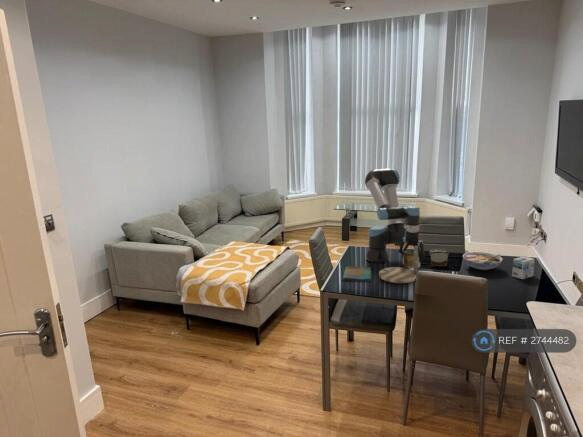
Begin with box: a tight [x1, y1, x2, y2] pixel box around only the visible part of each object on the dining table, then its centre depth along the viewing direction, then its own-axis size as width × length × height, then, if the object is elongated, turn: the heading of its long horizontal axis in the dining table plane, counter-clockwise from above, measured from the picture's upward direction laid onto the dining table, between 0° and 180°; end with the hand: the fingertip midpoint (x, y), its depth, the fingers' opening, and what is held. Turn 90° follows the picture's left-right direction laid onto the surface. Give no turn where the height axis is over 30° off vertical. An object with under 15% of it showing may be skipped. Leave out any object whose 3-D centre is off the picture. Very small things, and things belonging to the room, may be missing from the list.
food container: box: [428, 248, 450, 267], centre depth 260 cm, size 12×6×10 cm, turn 84°
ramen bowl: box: [462, 251, 503, 271], centre depth 249 cm, size 25×23×8 cm
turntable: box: [378, 245, 419, 284], centre depth 236 cm, size 22×22×19 cm
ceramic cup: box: [402, 248, 419, 269], centre depth 252 cm, size 13×10×10 cm
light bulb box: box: [511, 255, 536, 280], centre depth 234 cm, size 11×7×11 cm, turn 118°
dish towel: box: [342, 266, 372, 283], centre depth 248 cm, size 17×23×2 cm
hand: (411, 265), depth 252 cm, fingers closed on ceramic cup, 9 cm apart
